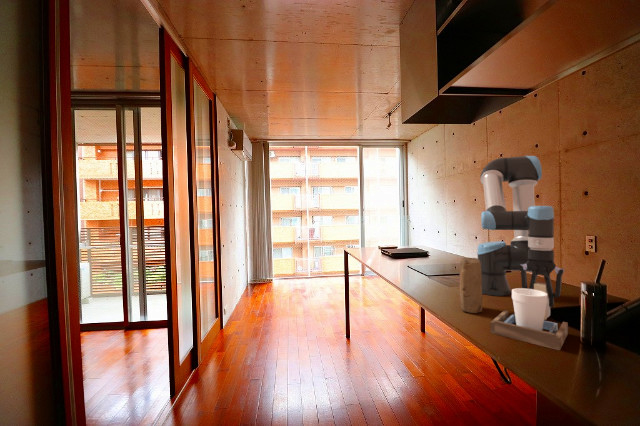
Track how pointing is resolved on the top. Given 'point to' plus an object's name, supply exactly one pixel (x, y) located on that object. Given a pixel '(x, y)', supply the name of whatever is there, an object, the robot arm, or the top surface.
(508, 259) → the robot arm
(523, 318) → the foam cup
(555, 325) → the tray
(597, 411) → the top surface
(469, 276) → the block
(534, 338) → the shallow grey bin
